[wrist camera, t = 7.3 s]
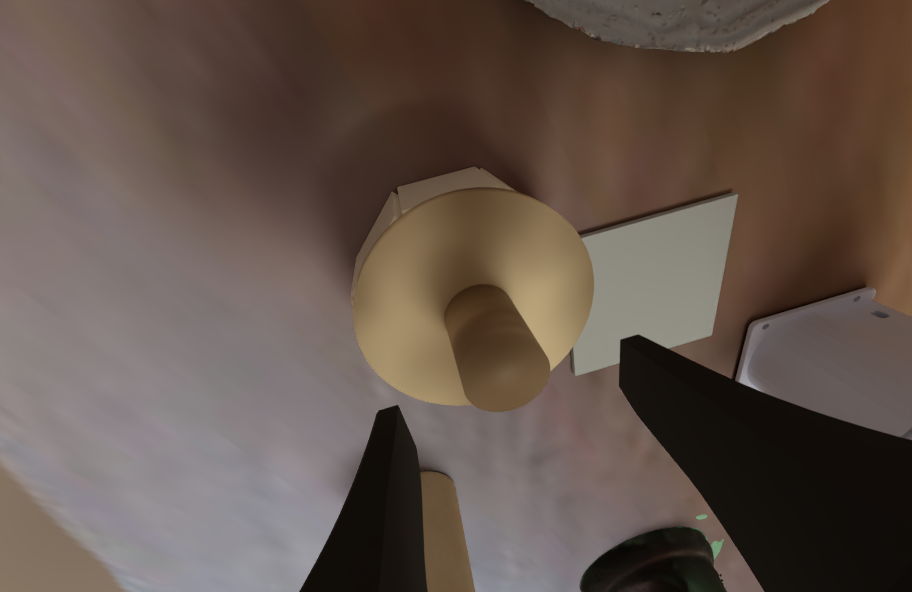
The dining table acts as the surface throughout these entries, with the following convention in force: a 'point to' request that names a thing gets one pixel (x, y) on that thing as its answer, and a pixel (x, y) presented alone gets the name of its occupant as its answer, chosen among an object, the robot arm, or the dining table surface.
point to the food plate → (679, 21)
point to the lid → (473, 298)
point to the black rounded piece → (658, 564)
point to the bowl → (416, 195)
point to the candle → (444, 536)
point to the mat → (655, 280)
